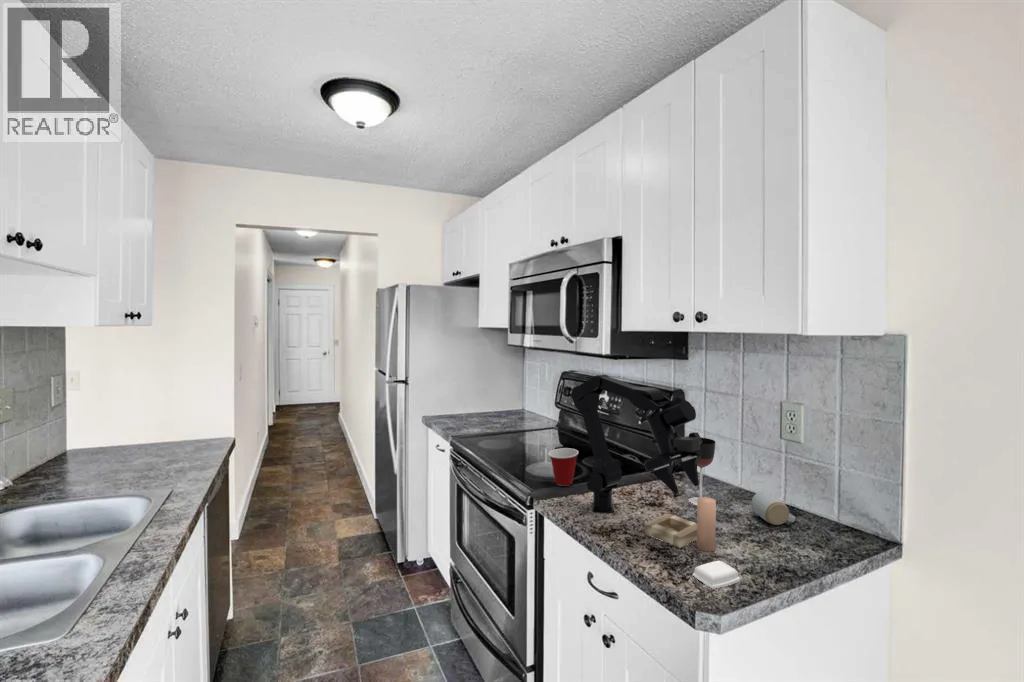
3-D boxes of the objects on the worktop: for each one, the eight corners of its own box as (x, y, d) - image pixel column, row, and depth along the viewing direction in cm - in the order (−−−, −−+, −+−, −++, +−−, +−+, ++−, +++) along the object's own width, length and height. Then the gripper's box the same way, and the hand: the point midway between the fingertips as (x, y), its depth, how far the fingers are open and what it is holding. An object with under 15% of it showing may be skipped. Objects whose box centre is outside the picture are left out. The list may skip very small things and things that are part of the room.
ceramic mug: (766, 527, 137) (767, 500, 137) (750, 515, 146) (751, 490, 145) (802, 526, 138) (803, 500, 138) (784, 515, 146) (785, 490, 146)
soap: (718, 568, 116) (718, 556, 116) (742, 582, 109) (742, 570, 109) (689, 576, 112) (690, 564, 112) (712, 591, 106) (713, 578, 106)
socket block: (644, 534, 133) (644, 523, 133) (667, 523, 140) (667, 513, 140) (680, 548, 125) (681, 537, 125) (703, 536, 132) (703, 525, 132)
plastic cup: (543, 481, 177) (543, 448, 177) (570, 478, 180) (570, 446, 180) (555, 491, 167) (555, 456, 166) (583, 487, 170) (583, 454, 170)
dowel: (694, 543, 128) (695, 496, 127) (712, 544, 127) (712, 497, 127) (699, 551, 123) (700, 503, 123) (717, 552, 123) (718, 503, 122)
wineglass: (698, 508, 151) (699, 444, 150) (681, 498, 160) (682, 438, 159) (720, 505, 153) (721, 442, 152) (702, 495, 162) (703, 436, 161)
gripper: (664, 428, 121) (690, 490, 116) (706, 418, 133) (731, 474, 127) (633, 441, 129) (656, 500, 124) (674, 431, 141) (697, 484, 135)
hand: (687, 489), depth 127 cm, fingers open, 9 cm apart
